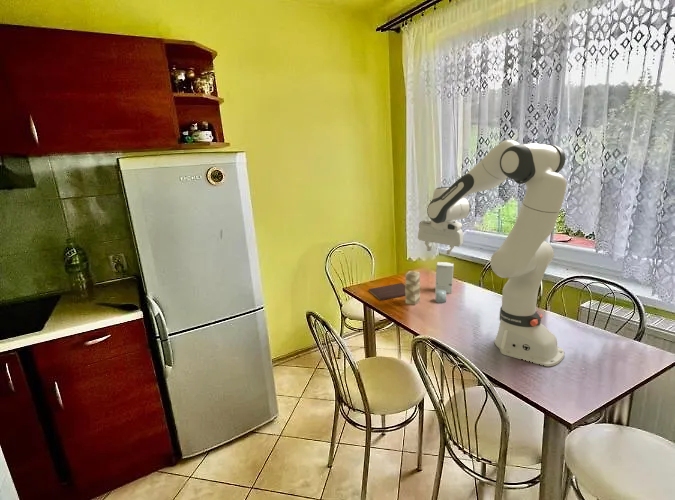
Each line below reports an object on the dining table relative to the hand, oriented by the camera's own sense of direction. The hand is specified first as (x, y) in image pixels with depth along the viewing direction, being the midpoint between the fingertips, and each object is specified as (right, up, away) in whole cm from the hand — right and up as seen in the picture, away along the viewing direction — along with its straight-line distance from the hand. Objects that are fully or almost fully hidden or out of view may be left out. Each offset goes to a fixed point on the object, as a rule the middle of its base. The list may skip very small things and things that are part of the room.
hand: (438, 252), depth 169 cm
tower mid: (-10, -20, +8) cm, 24 cm away
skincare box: (+9, -20, +21) cm, 31 cm away
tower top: (-11, -15, +7) cm, 19 cm away
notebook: (-18, -22, +24) cm, 37 cm away
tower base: (-10, -24, +10) cm, 28 cm away
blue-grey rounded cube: (+3, -24, +9) cm, 26 cm away
